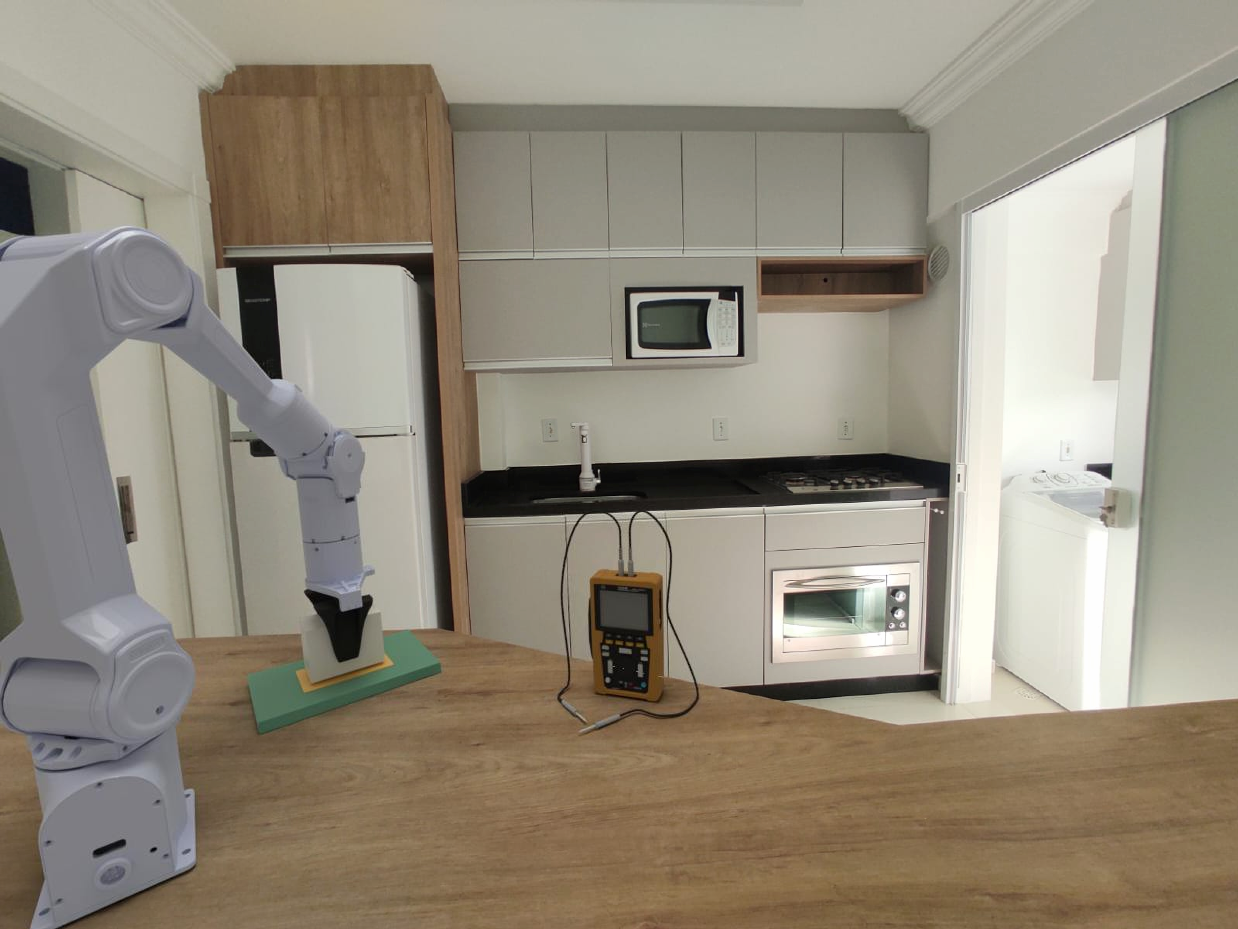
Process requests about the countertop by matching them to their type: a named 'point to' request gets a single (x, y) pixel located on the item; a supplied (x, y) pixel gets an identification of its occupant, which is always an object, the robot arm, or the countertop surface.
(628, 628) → the multimeter
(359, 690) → the header board
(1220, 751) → the countertop surface
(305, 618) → the block
